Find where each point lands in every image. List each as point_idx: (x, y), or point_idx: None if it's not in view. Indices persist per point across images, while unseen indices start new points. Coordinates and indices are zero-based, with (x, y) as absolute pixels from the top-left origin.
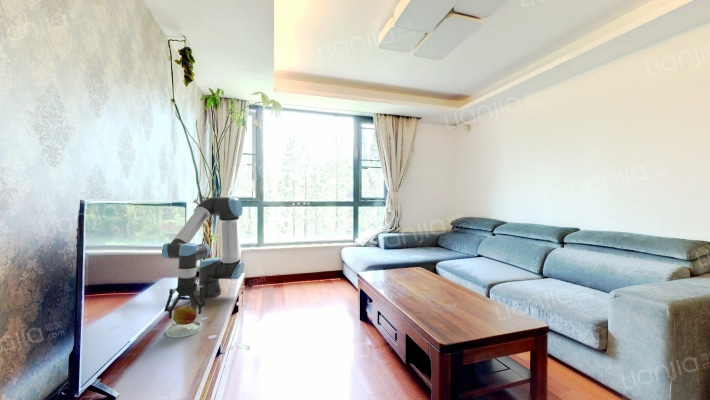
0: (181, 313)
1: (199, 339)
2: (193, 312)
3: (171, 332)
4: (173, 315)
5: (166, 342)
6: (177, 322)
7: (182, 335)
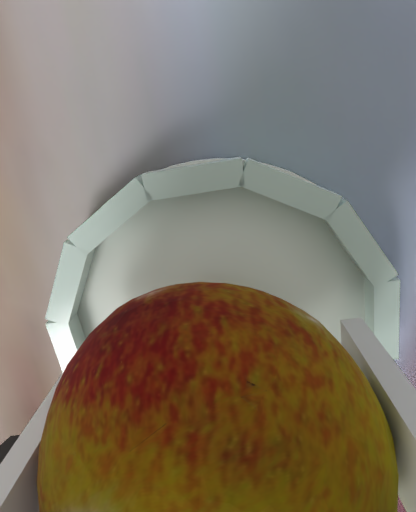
0: (271, 412)
1: (15, 40)
2: (51, 432)
3: (336, 220)
4: (411, 427)
5: (358, 66)
6: (302, 310)
7: (210, 159)
